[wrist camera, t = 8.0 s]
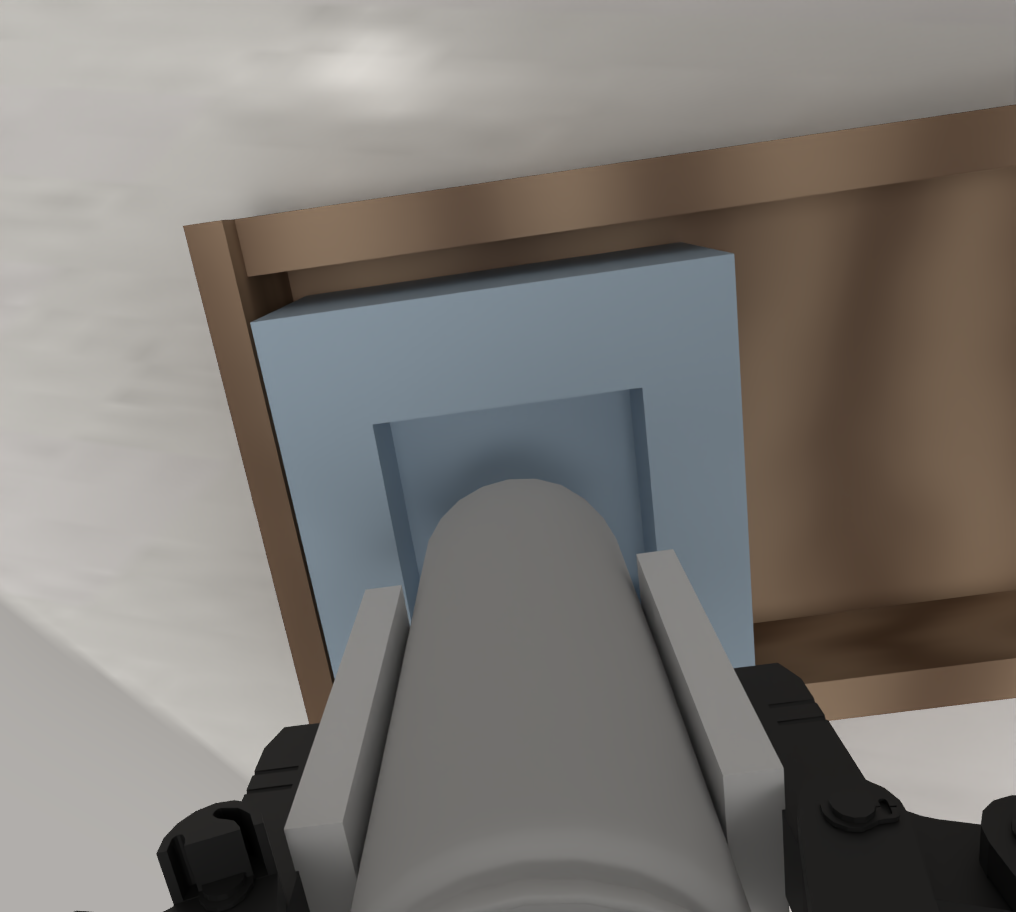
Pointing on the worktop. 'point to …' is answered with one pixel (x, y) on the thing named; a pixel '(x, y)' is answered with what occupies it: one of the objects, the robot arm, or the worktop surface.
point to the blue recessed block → (517, 417)
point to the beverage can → (537, 731)
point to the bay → (747, 376)
